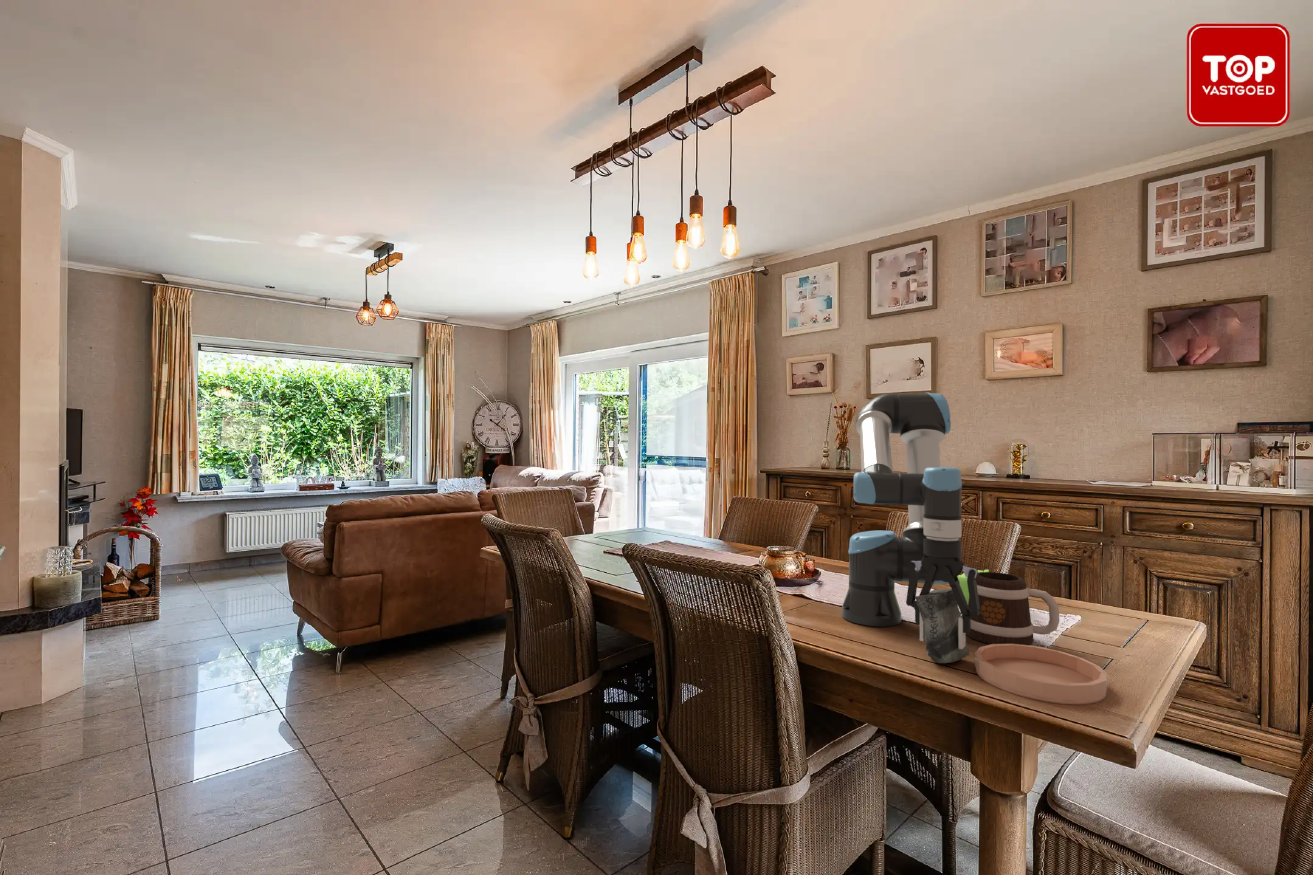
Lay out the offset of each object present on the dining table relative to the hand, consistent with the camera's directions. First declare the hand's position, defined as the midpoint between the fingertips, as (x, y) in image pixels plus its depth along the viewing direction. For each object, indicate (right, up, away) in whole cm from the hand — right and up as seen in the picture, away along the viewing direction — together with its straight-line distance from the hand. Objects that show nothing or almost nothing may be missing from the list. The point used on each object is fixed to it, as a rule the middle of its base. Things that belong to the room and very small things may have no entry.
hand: (942, 643), depth 131 cm
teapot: (+30, -4, +41) cm, 51 cm away
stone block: (0, -4, 0) cm, 4 cm away
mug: (+23, -4, +14) cm, 27 cm away
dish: (+14, -4, -10) cm, 18 cm away
